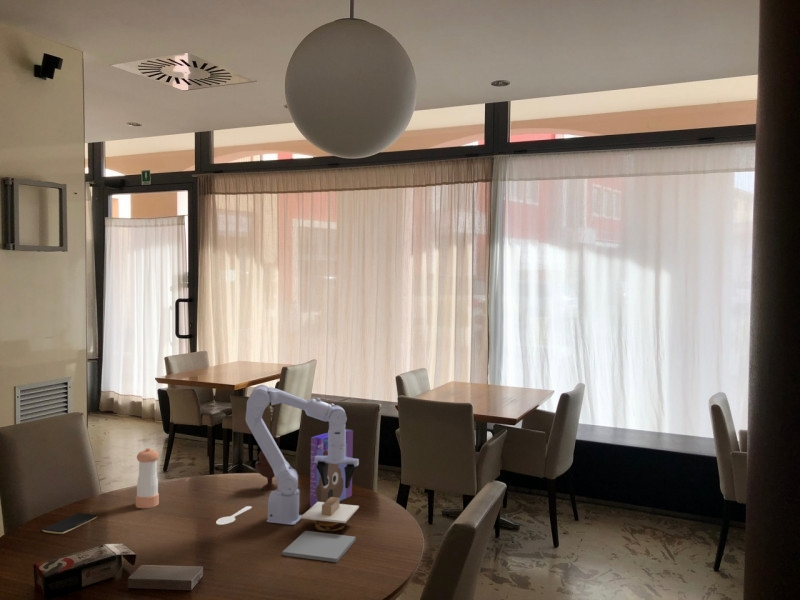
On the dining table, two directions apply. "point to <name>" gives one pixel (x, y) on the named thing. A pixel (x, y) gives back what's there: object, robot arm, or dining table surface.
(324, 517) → the lid
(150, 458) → the pepper shaker
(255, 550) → the dining table surface
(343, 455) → the robot arm
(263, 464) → the ice cream bowl
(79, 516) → the smartphone
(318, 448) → the cereal box
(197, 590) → the dining table surface
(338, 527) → the burger
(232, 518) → the spoon
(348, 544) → the mat
